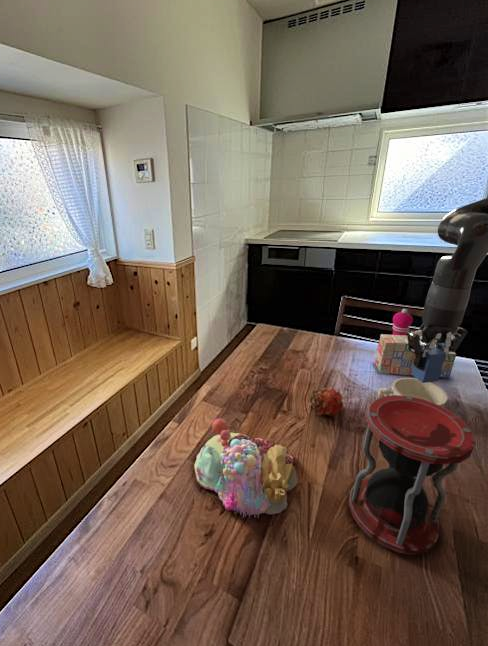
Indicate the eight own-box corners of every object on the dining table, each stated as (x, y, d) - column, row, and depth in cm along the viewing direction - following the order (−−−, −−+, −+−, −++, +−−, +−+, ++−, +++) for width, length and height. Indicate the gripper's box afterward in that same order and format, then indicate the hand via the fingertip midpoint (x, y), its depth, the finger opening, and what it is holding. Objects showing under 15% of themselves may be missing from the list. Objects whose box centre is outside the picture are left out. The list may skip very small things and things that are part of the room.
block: (425, 372, 87) (433, 345, 83) (437, 381, 83) (446, 353, 80) (410, 374, 86) (418, 346, 83) (422, 383, 83) (430, 354, 79)
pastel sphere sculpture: (298, 446, 88) (301, 419, 85) (296, 532, 68) (300, 500, 64) (206, 430, 96) (205, 404, 92) (180, 502, 76) (177, 472, 72)
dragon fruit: (309, 424, 98) (331, 411, 105) (334, 422, 91) (356, 408, 99) (298, 395, 100) (321, 385, 107) (323, 391, 93) (345, 380, 100)
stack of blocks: (441, 368, 117) (450, 337, 112) (449, 378, 112) (459, 346, 107) (374, 363, 122) (380, 333, 117) (378, 373, 117) (385, 341, 112)
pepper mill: (408, 359, 124) (421, 309, 116) (398, 365, 120) (410, 314, 112) (389, 351, 129) (400, 303, 121) (378, 357, 126) (388, 308, 118)
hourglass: (351, 540, 66) (374, 444, 56) (346, 474, 80) (363, 388, 70) (449, 567, 61) (493, 467, 51) (425, 492, 75) (456, 402, 64)
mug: (431, 394, 105) (435, 379, 103) (451, 423, 93) (456, 408, 91) (370, 388, 109) (373, 374, 107) (382, 416, 97) (386, 401, 95)
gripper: (429, 311, 72) (411, 378, 79) (489, 306, 73) (466, 372, 80) (404, 299, 79) (390, 362, 86) (460, 294, 80) (441, 356, 87)
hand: (427, 366), depth 83 cm, fingers closed on block, 4 cm apart
